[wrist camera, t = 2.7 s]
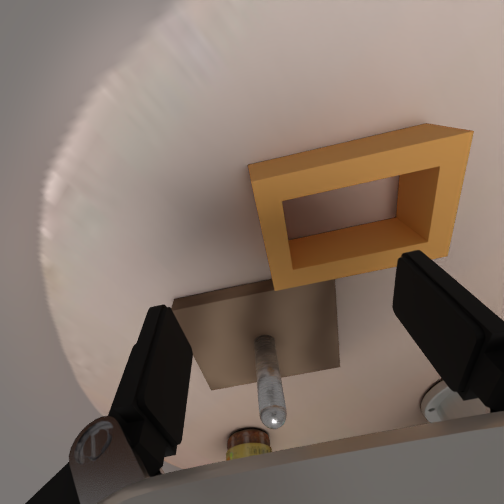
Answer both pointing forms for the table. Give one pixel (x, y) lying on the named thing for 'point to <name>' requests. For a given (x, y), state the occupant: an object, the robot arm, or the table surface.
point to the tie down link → (356, 172)
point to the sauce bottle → (247, 444)
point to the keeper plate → (260, 316)
